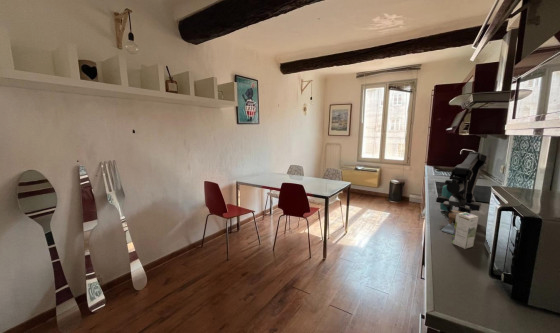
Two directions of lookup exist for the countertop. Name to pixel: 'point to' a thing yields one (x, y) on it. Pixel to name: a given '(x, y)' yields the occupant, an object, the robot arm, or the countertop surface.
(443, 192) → the beverage bottle
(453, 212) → the block with dowel legs
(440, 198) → the robot arm
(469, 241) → the syrup box
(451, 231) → the board
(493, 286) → the countertop surface
